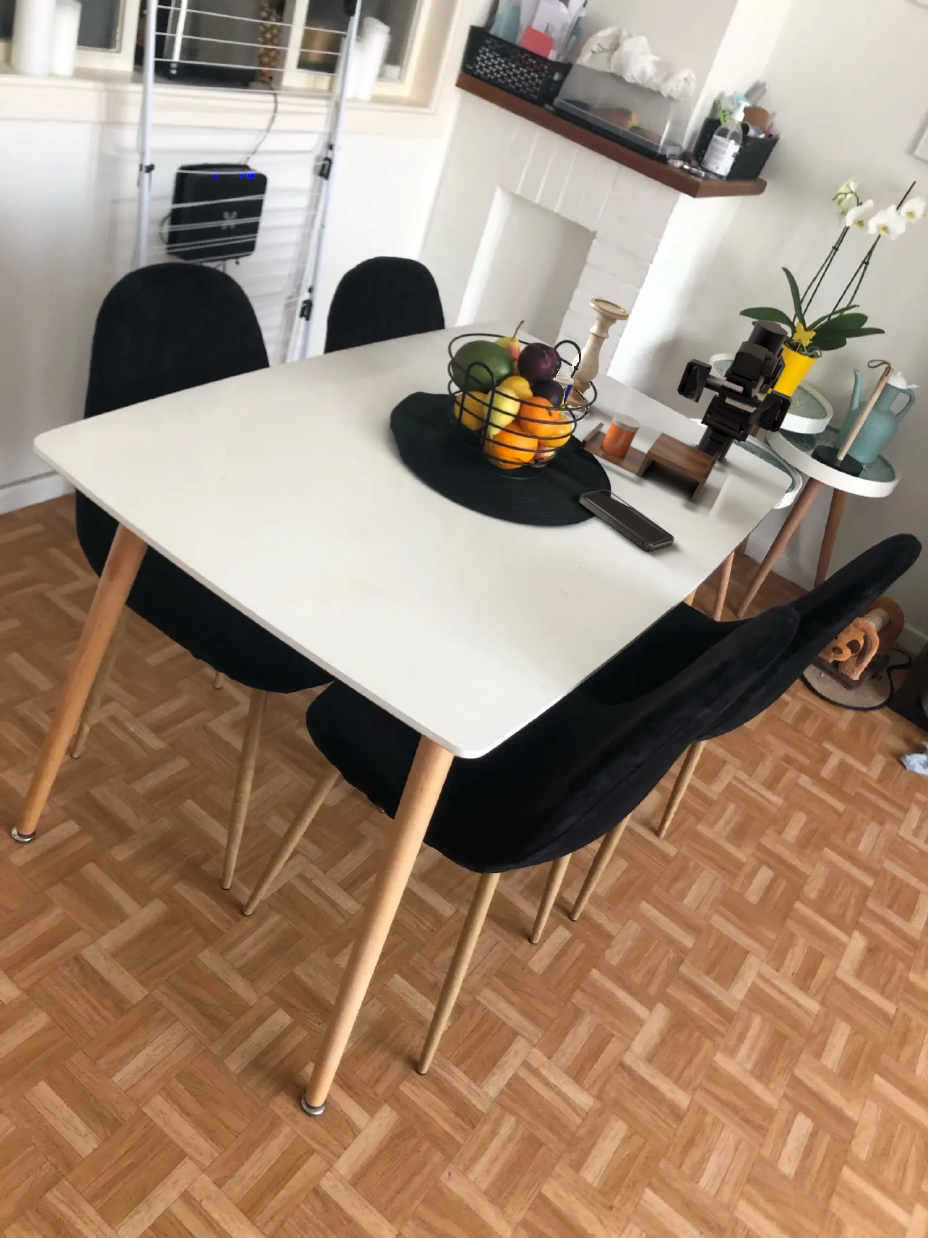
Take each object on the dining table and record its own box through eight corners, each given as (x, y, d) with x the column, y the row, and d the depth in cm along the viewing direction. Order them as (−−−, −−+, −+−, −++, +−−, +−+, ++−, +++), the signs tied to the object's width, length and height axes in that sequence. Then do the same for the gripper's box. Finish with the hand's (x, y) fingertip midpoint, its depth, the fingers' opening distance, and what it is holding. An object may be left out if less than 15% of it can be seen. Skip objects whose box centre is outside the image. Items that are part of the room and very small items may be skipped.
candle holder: (541, 402, 191) (582, 300, 180) (554, 391, 198) (594, 292, 187) (583, 421, 190) (626, 320, 179) (594, 410, 197) (637, 312, 186)
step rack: (594, 435, 186) (610, 400, 182) (703, 487, 182) (721, 453, 179) (576, 452, 176) (592, 416, 172) (691, 509, 172) (710, 472, 169)
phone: (650, 546, 152) (578, 493, 159) (647, 552, 152) (576, 499, 159) (677, 538, 157) (607, 488, 164) (674, 544, 158) (604, 494, 165)
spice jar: (604, 440, 182) (618, 410, 179) (629, 452, 181) (643, 422, 178) (597, 447, 178) (611, 417, 175) (622, 460, 177) (636, 429, 174)
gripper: (710, 321, 176) (687, 343, 164) (812, 360, 171) (797, 386, 159) (688, 379, 182) (664, 405, 170) (785, 418, 178) (768, 447, 166)
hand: (722, 409), depth 166 cm, fingers open, 9 cm apart
